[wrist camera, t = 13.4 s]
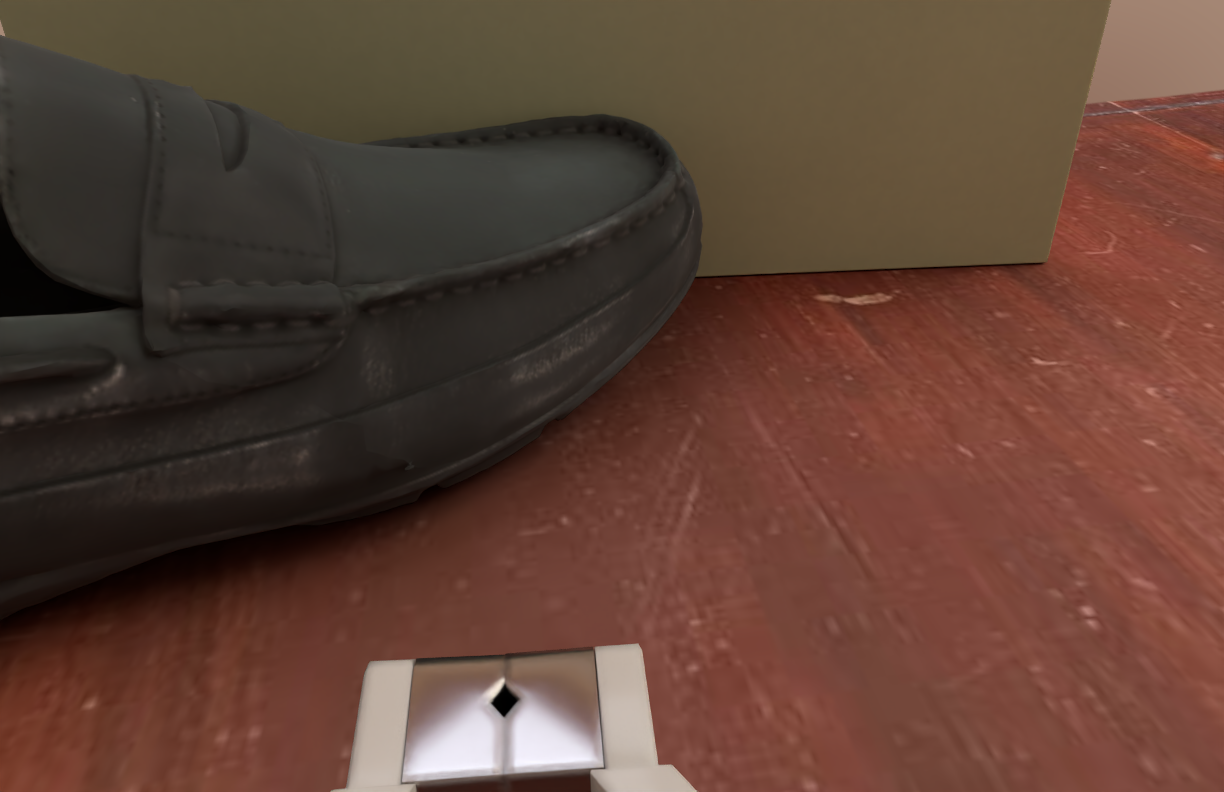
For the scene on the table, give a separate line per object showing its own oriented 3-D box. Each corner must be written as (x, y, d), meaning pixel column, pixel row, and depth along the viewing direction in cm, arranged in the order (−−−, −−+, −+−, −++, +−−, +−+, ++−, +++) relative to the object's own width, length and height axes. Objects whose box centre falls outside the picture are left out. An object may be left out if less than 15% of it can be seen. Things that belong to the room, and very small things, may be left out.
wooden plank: (86, 305, 31) (-38, -84, 25) (104, 282, 33) (-11, -94, 27) (1050, 265, 33) (1142, -106, 27) (1029, 244, 35) (1113, -114, 29)
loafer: (779, 359, 28) (816, -38, 23) (-818, 1180, 13) (-1965, 538, 7) (547, 240, 35) (532, -91, 29) (-693, 681, 19) (-1235, 146, 14)
